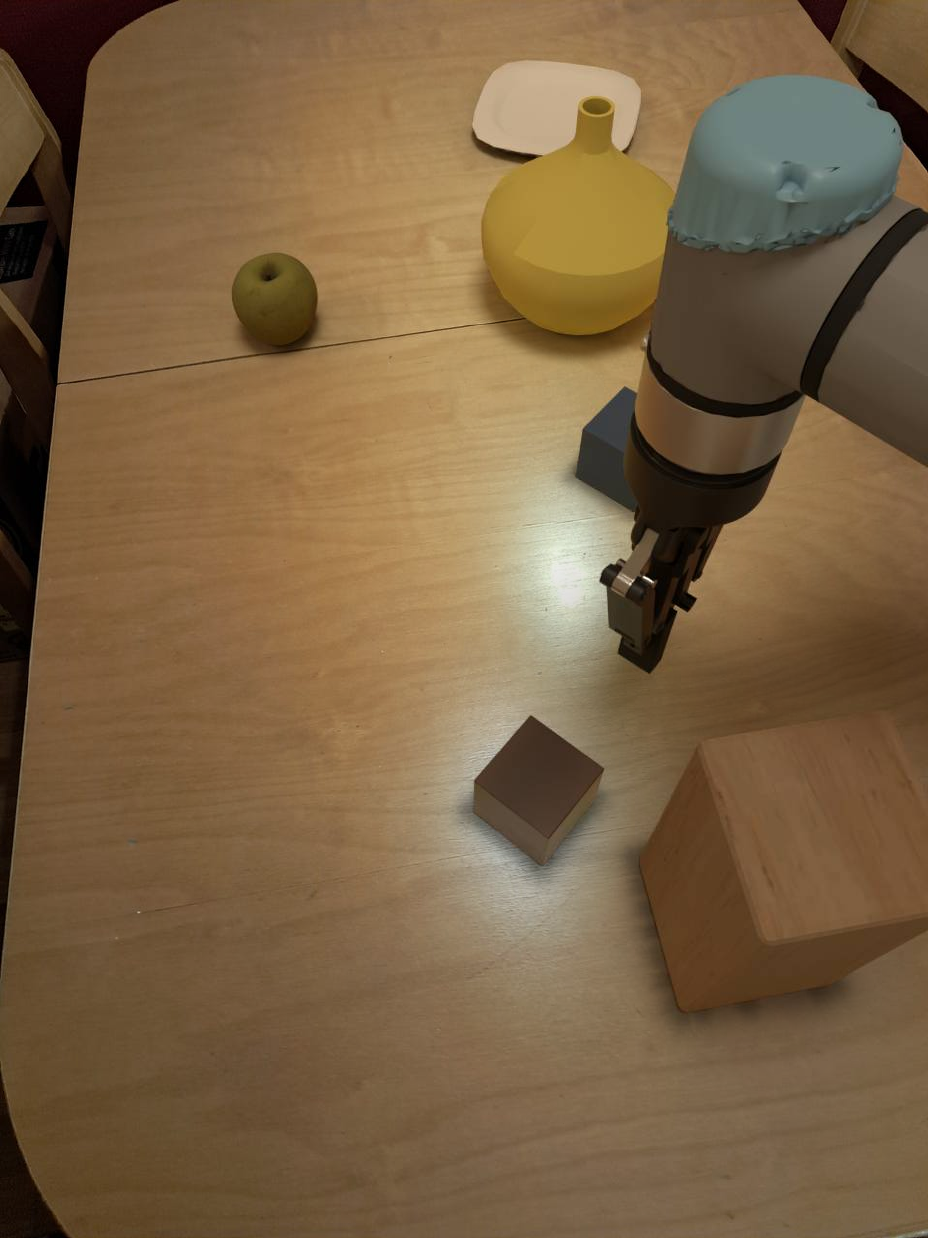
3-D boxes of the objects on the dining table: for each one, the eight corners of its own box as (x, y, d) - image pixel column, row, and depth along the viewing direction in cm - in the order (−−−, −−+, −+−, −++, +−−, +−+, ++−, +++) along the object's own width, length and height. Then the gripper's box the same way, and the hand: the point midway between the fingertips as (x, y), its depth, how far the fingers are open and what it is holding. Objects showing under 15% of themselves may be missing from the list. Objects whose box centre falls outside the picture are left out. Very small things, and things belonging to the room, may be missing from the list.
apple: (226, 346, 88) (208, 284, 82) (271, 294, 92) (256, 231, 86) (296, 371, 87) (282, 309, 81) (338, 316, 90) (328, 254, 84)
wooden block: (778, 832, 64) (890, 704, 47) (832, 985, 59) (980, 905, 42) (636, 857, 63) (696, 737, 46) (678, 1015, 58) (764, 945, 41)
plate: (646, 85, 110) (648, 71, 109) (624, 178, 101) (626, 163, 100) (495, 67, 112) (495, 52, 111) (461, 156, 103) (461, 142, 102)
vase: (504, 380, 86) (511, 191, 69) (463, 252, 95) (461, 58, 79) (695, 350, 88) (746, 158, 71) (636, 226, 97) (670, 32, 81)
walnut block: (594, 800, 65) (605, 768, 60) (542, 867, 63) (548, 839, 58) (526, 749, 67) (530, 714, 62) (473, 812, 65) (473, 780, 60)
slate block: (673, 468, 80) (686, 419, 75) (633, 512, 78) (645, 464, 73) (615, 435, 82) (624, 385, 77) (575, 476, 80) (582, 428, 75)
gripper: (711, 318, 50) (644, 569, 70) (569, 467, 45) (541, 692, 65) (841, 380, 47) (733, 622, 67) (706, 546, 42) (632, 755, 62)
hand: (639, 656), depth 66 cm, fingers closed
